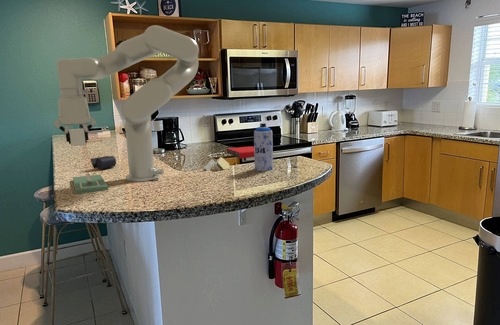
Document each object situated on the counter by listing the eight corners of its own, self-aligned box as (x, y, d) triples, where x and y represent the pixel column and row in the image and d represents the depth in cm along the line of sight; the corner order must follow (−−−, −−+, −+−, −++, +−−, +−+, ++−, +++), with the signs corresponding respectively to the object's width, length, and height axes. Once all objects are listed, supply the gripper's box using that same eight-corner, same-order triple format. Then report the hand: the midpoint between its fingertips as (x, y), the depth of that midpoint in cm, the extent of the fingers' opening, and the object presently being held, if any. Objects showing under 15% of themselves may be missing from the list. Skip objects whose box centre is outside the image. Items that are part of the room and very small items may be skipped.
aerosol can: (250, 173, 145) (249, 123, 142) (259, 169, 152) (258, 122, 148) (268, 174, 141) (267, 124, 138) (276, 171, 148) (275, 122, 145)
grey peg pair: (86, 183, 129) (85, 173, 129) (91, 182, 130) (90, 173, 129) (87, 185, 126) (86, 176, 125) (92, 185, 126) (91, 175, 126)
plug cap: (70, 144, 137) (68, 129, 136) (84, 142, 139) (82, 128, 138) (71, 146, 130) (69, 130, 129) (85, 144, 132) (84, 129, 131)
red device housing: (227, 157, 188) (226, 148, 187) (252, 155, 193) (251, 146, 192) (239, 162, 172) (239, 152, 171) (266, 160, 177) (266, 150, 176)
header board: (73, 180, 140) (72, 177, 140) (100, 177, 145) (100, 174, 145) (76, 193, 120) (76, 190, 119) (108, 189, 124) (107, 186, 124)
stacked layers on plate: (218, 183, 150) (227, 176, 148) (204, 167, 149) (212, 159, 146) (225, 174, 159) (234, 167, 157) (211, 158, 158) (220, 151, 155)
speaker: (110, 166, 170) (91, 170, 163) (108, 155, 170) (89, 158, 162) (118, 166, 166) (99, 170, 159) (116, 155, 166) (97, 158, 158)
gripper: (96, 93, 138) (101, 140, 141) (45, 94, 131) (52, 144, 134) (97, 92, 132) (103, 142, 135) (45, 94, 124) (52, 146, 127)
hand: (77, 142), depth 134 cm, fingers closed on plug cap, 4 cm apart
